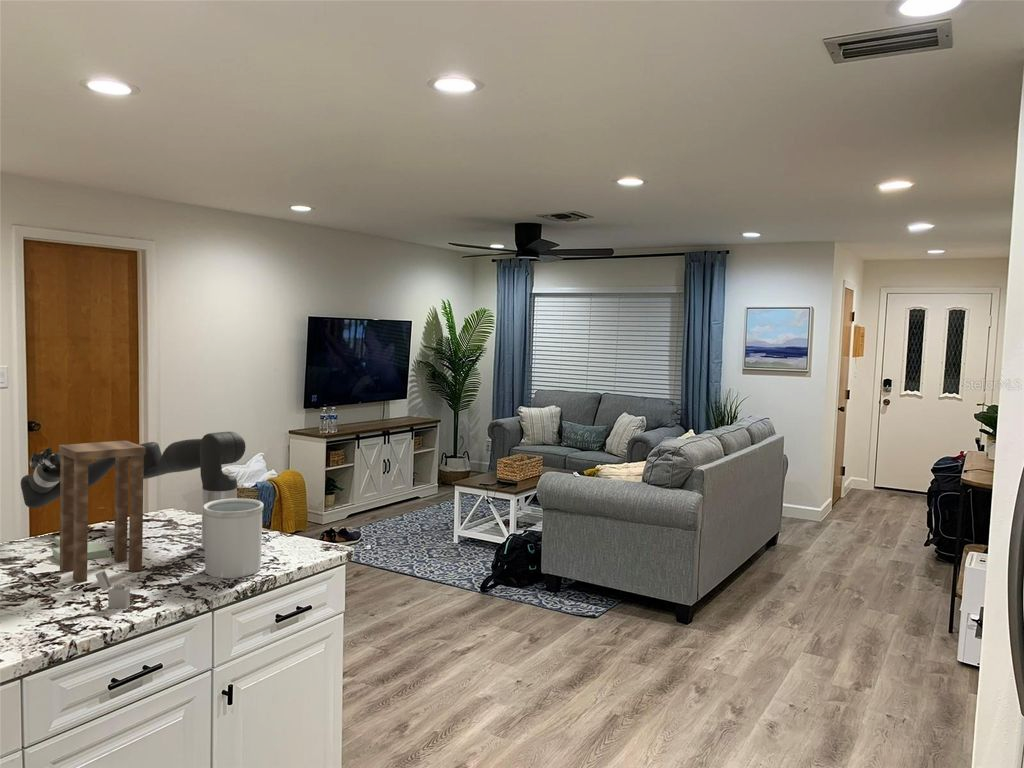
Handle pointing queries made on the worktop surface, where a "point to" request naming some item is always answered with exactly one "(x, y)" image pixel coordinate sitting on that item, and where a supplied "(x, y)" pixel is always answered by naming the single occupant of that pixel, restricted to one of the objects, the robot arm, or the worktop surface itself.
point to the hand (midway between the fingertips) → (67, 449)
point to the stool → (77, 503)
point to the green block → (92, 552)
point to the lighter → (114, 592)
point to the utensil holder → (232, 537)
